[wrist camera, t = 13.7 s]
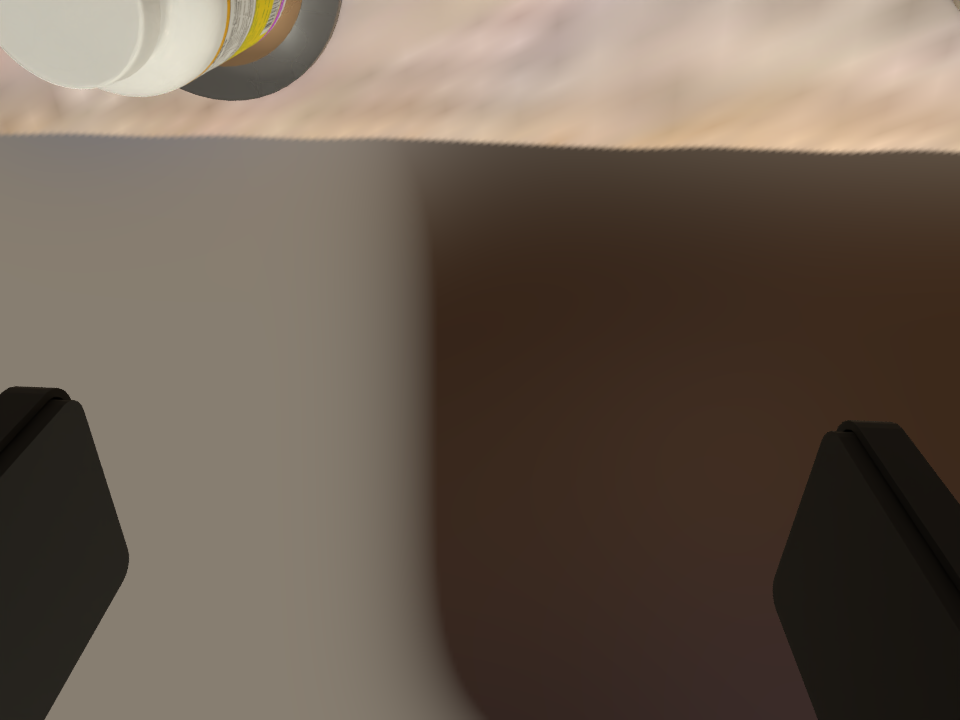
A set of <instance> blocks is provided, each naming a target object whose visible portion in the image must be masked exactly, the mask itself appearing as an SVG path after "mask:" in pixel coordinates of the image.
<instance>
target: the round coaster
mask: <svg viewBox="0 0 960 720" xmlns="http://www.w3.org/2000/svg"><path fill="white" fill-rule="evenodd" d="M341 4H342V0H286V3H285V6H284V9H283V11H282V13H281V16H280V18H279V19H278V21H277V22H276V24H275V25H274V27H273V28H272V29H271V31H270V32H269V33H268V34H267V35H266V36H265V37H263V38H262V39H261V40H260V41H258V42H257V43H255V44H254V45H252V46H251V47H249V48H247V49H246V50H244V51H242V52H241V53H239V54H237V55H236V56H234V57H232V58H231V59H229V60H227V61H225V62H224V63H222V64H221V65H219V66H217V67H215V68H213V69H211V70H210V71H208V72H206V73H205V74H203V75H201V76H199V77H198V78H196V79H195V80H193V81H191V82H190V83H188V84H186V85H184V86H182V87H180V89H182V90H185V91H188V92H190V93H193V94H196V95H199V96H203V97H207V98H211V99H218V100H228V101H236V100H249V99H255V98H260V97H263V96H266V95H269V94H272V93H275V92H277V91H279V90H281V89H282V88H284V87H286V86H288V85H289V84H291V83H292V82H294V81H295V80H296V79H298V78H299V77H300V76H302V75H303V74H304V73H305V72H306V71H307V70H308V69H309V68H310V67H311V66H312V65H313V64H314V63H315V62H316V60H317V59H318V58H319V56H320V55H321V54H322V52H323V51H324V49H325V48H326V46H327V44H328V42H329V40H330V39H331V37H332V34H333V31H334V29H335V26H336V24H337V21H338V17H339V13H340V8H341Z"/></svg>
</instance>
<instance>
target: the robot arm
mask: <svg viewBox="0 0 960 720" xmlns="http://www.w3.org/2000/svg"><path fill="white" fill-rule="evenodd" d="M953 2H954V4H955V6H956V7H957V8H958V9H959V11H960V0H953ZM128 563H129V553H128V549H127V545H126V542H125V539H124V536H123V533H122V529H121V526H120V523H119V520H118V517H117V514H116V510H115V507H114V504H113V501H112V498H111V495H110V491H109V488H108V485H107V482H106V479H105V476H104V473H103V469H102V466H101V463H100V460H99V457H98V454H97V451H96V447H95V444H94V441H93V438H92V435H91V432H90V428H89V425H88V422H87V419H86V416H85V413H84V410H83V408H82V405H81V404H80V403H79V402H78V401H75V400H71V399H70V397H69V395H68V394H67V393H66V392H65V391H64V390H62V389H59V388H43V387H18V386H15V387H10V388H8V389H7V390H5V391H4V392H2V393H1V394H0V720H44V719H45V718H46V716H47V714H48V712H49V711H50V709H51V707H52V705H53V704H54V702H55V700H56V698H57V696H58V695H59V693H60V691H61V689H62V688H63V686H64V684H65V682H66V681H67V679H68V677H69V675H70V674H71V672H72V670H73V668H74V666H75V665H76V663H77V661H78V660H79V658H80V656H81V654H82V653H83V651H84V649H85V647H86V645H87V644H88V642H89V640H90V638H91V637H92V635H93V633H94V631H95V630H96V628H97V626H98V624H99V623H100V621H101V619H102V617H103V616H104V614H105V612H106V610H107V609H108V607H109V605H110V603H111V601H112V600H113V598H114V596H115V594H116V593H117V591H118V589H119V587H120V586H121V584H122V582H123V580H124V578H125V576H126V573H127V569H128ZM773 599H774V604H775V607H776V611H777V613H778V616H779V619H780V621H781V624H782V626H783V629H784V632H785V634H786V637H787V639H788V642H789V645H790V647H791V650H792V653H793V655H794V658H795V661H796V663H797V666H798V668H799V671H800V673H801V676H802V678H803V681H804V684H805V687H806V689H807V692H808V694H809V697H810V700H811V702H812V705H813V707H814V710H815V713H816V715H817V718H818V720H960V504H959V503H958V502H957V500H956V499H955V498H954V496H953V495H952V494H951V492H950V491H949V490H948V488H947V487H946V486H945V484H944V483H943V482H942V480H941V479H940V478H939V477H938V476H937V474H936V472H935V471H934V470H933V469H932V467H931V466H930V465H929V463H928V462H927V461H926V459H925V458H924V457H923V455H922V454H921V453H920V451H919V450H918V449H917V447H916V446H915V445H914V443H913V442H912V441H911V439H910V438H909V437H908V435H907V434H906V433H905V431H904V430H903V429H902V428H901V427H900V426H899V425H898V424H896V423H893V422H876V421H875V422H874V421H853V420H852V421H851V420H848V421H845V422H842V424H841V425H840V426H839V427H838V429H837V431H830V432H827V433H826V434H825V435H824V437H823V439H822V442H821V444H820V447H819V450H818V453H817V456H816V459H815V462H814V465H813V467H812V471H811V474H810V476H809V479H808V482H807V485H806V488H805V491H804V494H803V496H802V500H801V503H800V505H799V508H798V511H797V514H796V517H795V520H794V522H793V526H792V528H791V531H790V534H789V537H788V540H787V543H786V546H785V549H784V552H783V554H782V557H781V560H780V563H779V566H778V569H777V572H776V575H775V578H774V582H773Z"/></svg>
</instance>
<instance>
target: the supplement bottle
mask: <svg viewBox="0 0 960 720" xmlns="http://www.w3.org/2000/svg"><path fill="white" fill-rule="evenodd" d="M285 3H286V0H0V47H1V48H2V49H3V50H4V51H5V52H6V53H7V54H8V55H9V56H10V57H11V58H12V59H13V60H14V61H15V62H17V63H18V64H19V65H20V66H22V67H23V68H24V69H26V70H28V71H29V72H30V73H32V74H33V75H35V76H37V77H39V78H41V79H43V80H45V81H47V82H49V83H52V84H55V85H58V86H62V87H66V88H70V89H94V88H98V89H101V90H104V91H107V92H110V93H114V94H118V95H123V96H131V97H150V96H156V95H161V94H165V93H168V92H171V91H173V90H176V89H178V88H180V87H182V86H184V85H186V84H188V83H190V82H191V81H193V80H195V79H196V78H198V77H199V76H201V75H203V74H205V73H206V72H208V71H210V70H211V69H213V68H215V67H217V66H219V65H221V64H222V63H224V62H225V61H227V60H229V59H231V58H232V57H234V56H236V55H237V54H239V53H241V52H242V51H244V50H246V49H247V48H249V47H251V46H252V45H254V44H255V43H257V42H258V41H260V40H261V39H262V38H263V37H265V36H266V35H267V34H268V33H269V32H270V31H271V29H272V28H273V27H274V25H275V24H276V22H277V21H278V19H279V18H280V16H281V13H282V11H283V9H284V6H285Z"/></svg>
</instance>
